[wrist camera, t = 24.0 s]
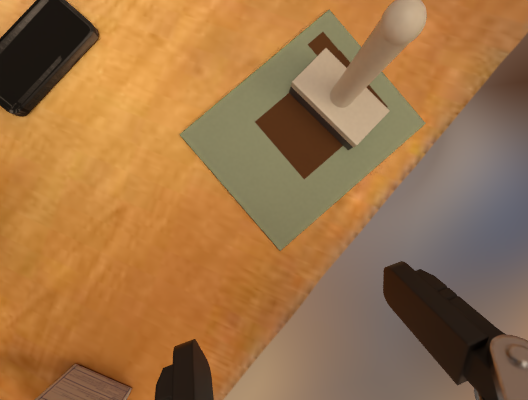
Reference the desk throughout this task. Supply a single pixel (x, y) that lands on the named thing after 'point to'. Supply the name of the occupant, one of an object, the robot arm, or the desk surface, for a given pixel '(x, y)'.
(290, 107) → the desk mat
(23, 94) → the phone
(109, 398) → the medicine box
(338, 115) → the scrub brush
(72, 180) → the desk surface
